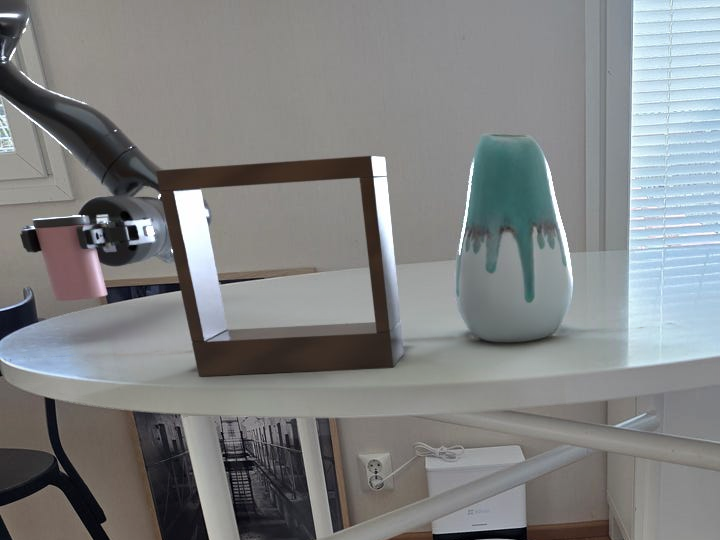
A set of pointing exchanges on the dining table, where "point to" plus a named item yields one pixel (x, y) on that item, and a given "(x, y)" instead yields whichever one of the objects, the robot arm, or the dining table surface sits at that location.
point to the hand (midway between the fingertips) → (54, 239)
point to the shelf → (281, 344)
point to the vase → (511, 244)
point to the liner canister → (69, 259)
